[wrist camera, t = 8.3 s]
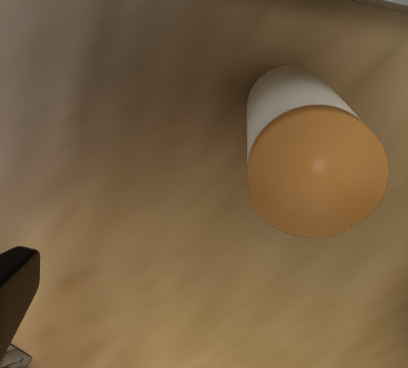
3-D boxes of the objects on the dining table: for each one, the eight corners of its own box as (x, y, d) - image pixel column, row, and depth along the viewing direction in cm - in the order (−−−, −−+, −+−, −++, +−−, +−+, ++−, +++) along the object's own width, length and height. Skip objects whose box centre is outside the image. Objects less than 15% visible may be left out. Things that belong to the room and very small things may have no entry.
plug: (343, 75, 18) (413, 132, 10) (314, 153, 19) (356, 249, 12) (258, 55, 17) (269, 99, 10) (238, 135, 19) (233, 221, 12)
